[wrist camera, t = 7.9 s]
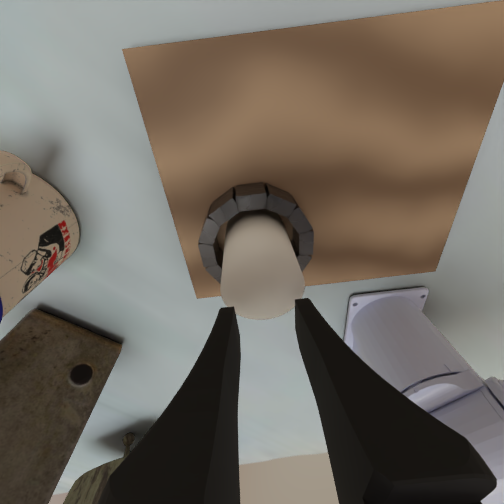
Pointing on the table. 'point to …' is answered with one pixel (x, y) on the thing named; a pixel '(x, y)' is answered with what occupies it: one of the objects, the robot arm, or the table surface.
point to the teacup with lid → (30, 231)
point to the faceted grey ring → (253, 199)
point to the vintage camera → (46, 400)
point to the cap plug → (259, 266)
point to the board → (328, 130)
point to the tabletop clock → (96, 479)
